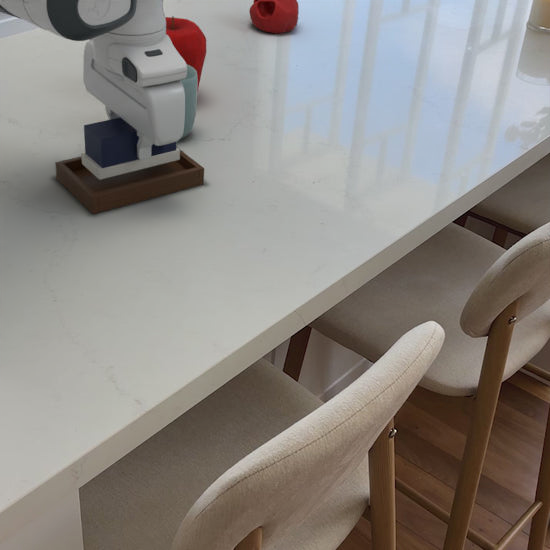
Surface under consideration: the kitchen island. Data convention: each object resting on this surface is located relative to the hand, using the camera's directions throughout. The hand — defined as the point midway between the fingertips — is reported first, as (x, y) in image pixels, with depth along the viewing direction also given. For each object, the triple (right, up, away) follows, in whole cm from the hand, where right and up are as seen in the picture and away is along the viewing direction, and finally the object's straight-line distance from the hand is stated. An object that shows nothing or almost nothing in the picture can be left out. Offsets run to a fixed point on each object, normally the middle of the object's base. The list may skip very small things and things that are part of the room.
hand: (131, 147), depth 117 cm
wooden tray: (-1, -4, +3) cm, 5 cm away
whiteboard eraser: (0, -2, +1) cm, 2 cm away
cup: (+3, +4, +16) cm, 16 cm away
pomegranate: (+19, +32, +59) cm, 69 cm away
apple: (+2, +11, +26) cm, 29 cm away
